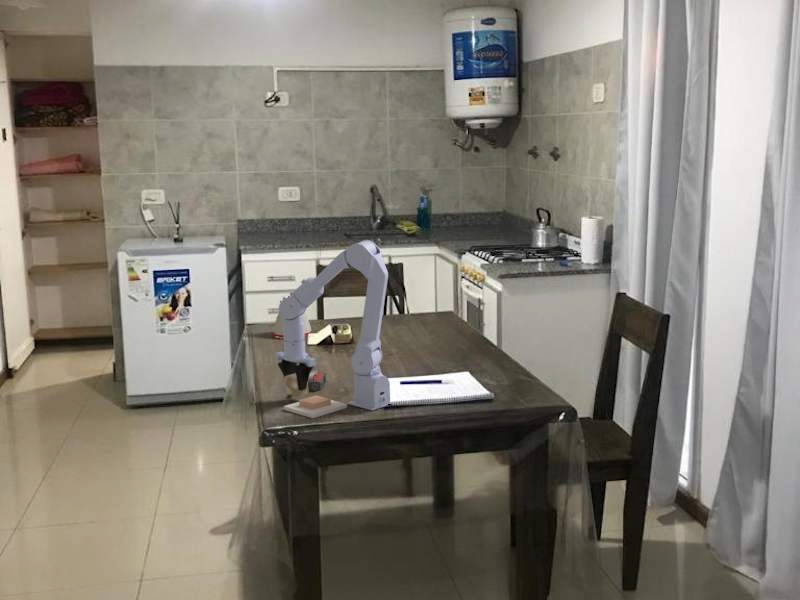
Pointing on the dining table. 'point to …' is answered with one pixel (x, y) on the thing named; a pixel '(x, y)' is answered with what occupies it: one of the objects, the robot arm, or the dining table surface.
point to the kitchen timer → (279, 325)
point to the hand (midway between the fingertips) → (296, 388)
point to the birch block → (293, 386)
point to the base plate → (315, 412)
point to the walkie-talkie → (316, 381)
